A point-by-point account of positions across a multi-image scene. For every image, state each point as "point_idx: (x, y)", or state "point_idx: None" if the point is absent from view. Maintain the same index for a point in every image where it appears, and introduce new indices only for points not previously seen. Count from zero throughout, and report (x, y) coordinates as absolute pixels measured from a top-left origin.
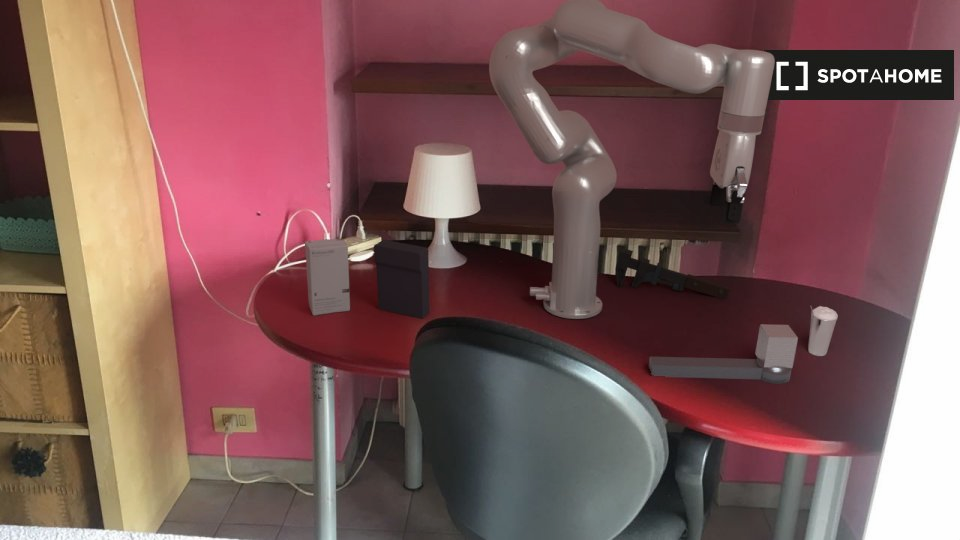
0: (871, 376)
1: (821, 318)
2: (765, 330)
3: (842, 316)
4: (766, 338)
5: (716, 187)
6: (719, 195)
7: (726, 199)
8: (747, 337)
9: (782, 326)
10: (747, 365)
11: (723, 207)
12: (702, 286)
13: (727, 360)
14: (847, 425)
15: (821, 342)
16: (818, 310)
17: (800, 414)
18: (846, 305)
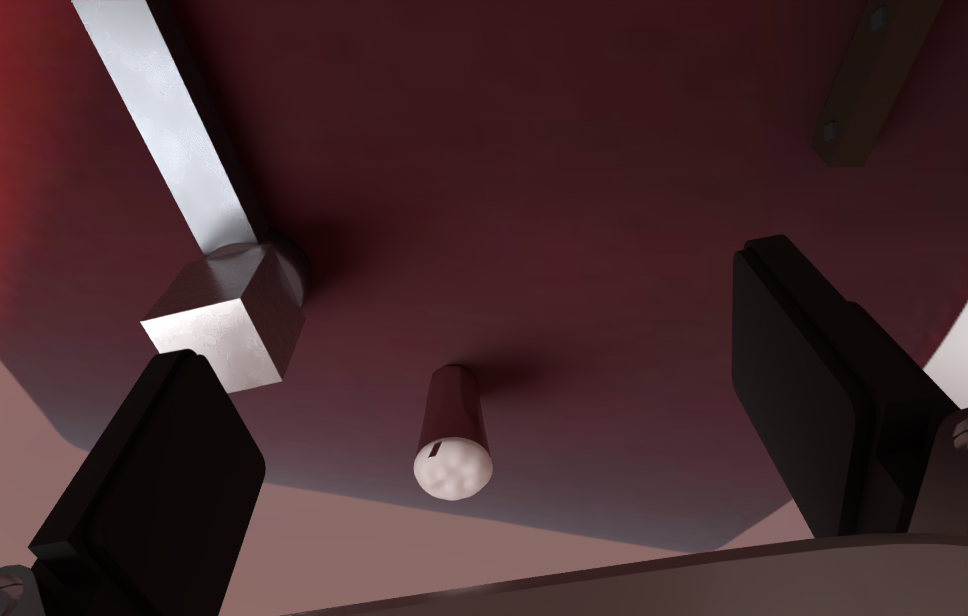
0: (363, 473)
1: (416, 460)
2: (193, 313)
3: (697, 453)
4: (165, 308)
5: (840, 426)
6: (781, 391)
7: (757, 428)
8: (494, 212)
9: (259, 364)
10: (197, 215)
11: (99, 463)
12: (863, 54)
13: (201, 152)
14: (91, 410)
15: (424, 414)
16: (449, 463)
17: (76, 324)
18: (772, 467)
